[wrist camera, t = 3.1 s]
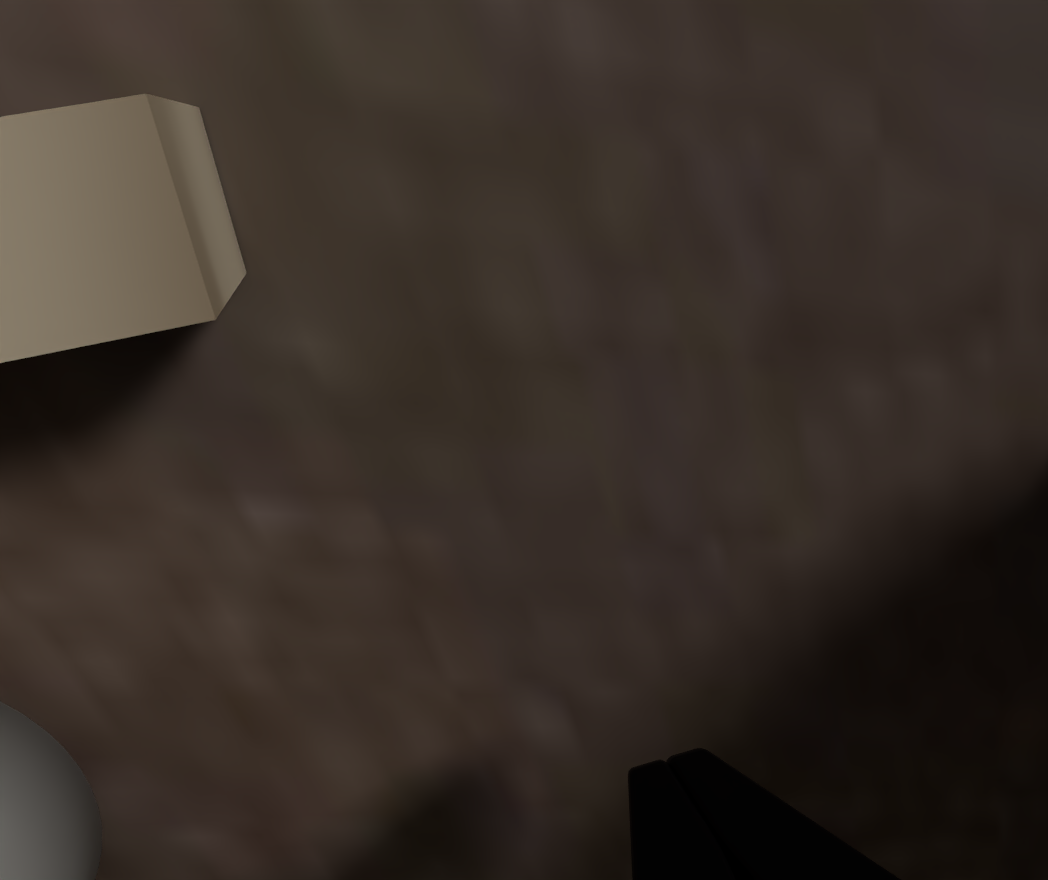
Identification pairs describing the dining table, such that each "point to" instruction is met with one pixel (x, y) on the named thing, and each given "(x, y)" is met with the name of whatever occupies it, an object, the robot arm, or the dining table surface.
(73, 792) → the grey egg-shaped dome
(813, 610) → the dining table surface
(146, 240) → the oak rail
